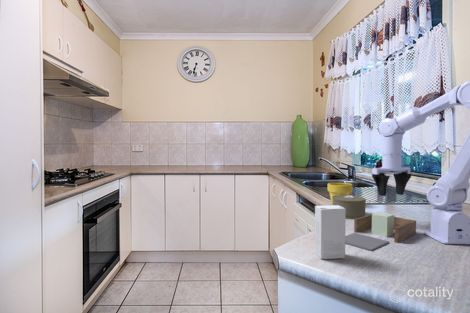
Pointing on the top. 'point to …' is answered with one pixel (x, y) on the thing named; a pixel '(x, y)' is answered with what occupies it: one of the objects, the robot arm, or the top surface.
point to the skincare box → (330, 231)
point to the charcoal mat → (364, 241)
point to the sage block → (383, 224)
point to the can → (351, 205)
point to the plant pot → (339, 189)
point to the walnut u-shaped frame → (401, 226)
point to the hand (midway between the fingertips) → (391, 195)
